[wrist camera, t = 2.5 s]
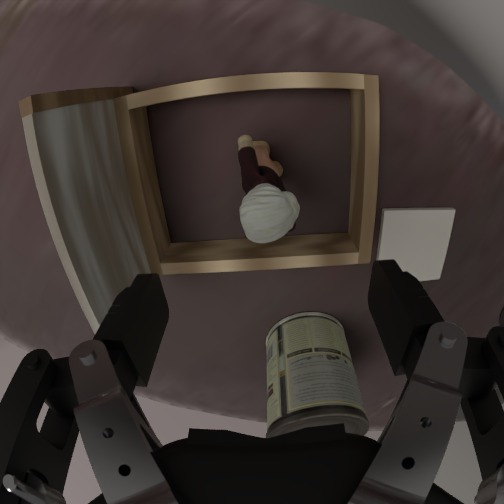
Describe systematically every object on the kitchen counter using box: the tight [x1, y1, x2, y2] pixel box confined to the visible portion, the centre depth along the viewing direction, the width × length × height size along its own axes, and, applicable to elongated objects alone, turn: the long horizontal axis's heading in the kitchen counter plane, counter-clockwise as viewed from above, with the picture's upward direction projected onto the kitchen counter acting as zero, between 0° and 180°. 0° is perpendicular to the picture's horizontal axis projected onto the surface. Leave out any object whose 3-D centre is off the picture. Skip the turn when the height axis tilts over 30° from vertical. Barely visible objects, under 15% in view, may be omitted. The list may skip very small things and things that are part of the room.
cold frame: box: [19, 72, 379, 334], centre depth 20 cm, size 21×18×14 cm
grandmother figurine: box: [238, 135, 300, 243], centre depth 21 cm, size 8×4×13 cm, turn 40°
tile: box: [376, 208, 455, 281], centre depth 29 cm, size 9×9×1 cm
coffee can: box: [266, 312, 369, 438], centre depth 31 cm, size 10×10×14 cm
